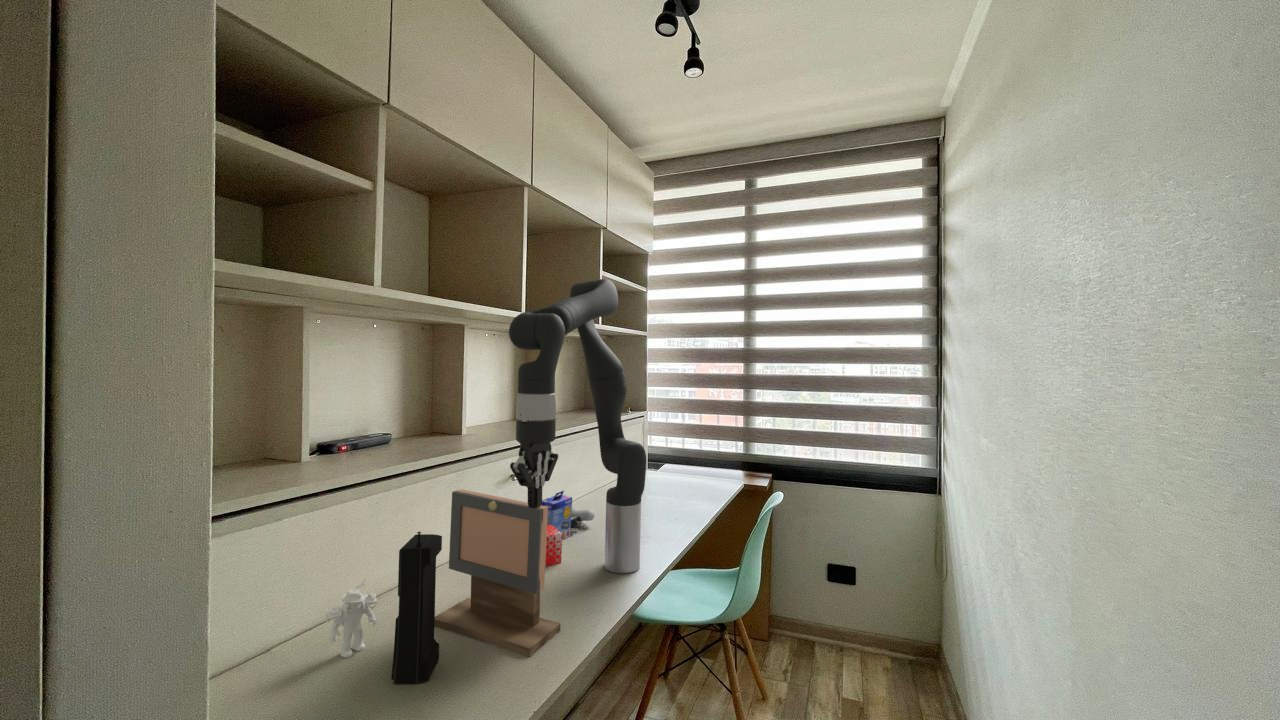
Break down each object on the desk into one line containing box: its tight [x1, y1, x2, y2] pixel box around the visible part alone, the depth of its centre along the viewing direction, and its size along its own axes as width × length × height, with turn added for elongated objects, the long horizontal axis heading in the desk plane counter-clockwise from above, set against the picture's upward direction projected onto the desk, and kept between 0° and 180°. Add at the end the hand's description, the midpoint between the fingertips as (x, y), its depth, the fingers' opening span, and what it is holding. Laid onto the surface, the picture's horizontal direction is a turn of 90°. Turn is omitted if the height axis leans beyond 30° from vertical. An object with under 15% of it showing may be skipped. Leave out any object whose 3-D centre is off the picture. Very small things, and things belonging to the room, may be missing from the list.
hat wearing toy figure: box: [324, 579, 378, 658], centre depth 94 cm, size 9×4×12 cm, turn 147°
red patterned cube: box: [545, 525, 563, 567], centre depth 138 cm, size 8×8×8 cm
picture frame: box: [448, 488, 548, 594], centre depth 103 cm, size 3×22×16 cm, turn 66°
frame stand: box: [434, 575, 561, 657], centre depth 103 cm, size 10×24×24 cm, turn 66°
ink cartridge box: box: [542, 490, 573, 541], centre depth 154 cm, size 10×6×14 cm, turn 151°
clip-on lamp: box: [571, 507, 596, 529], centre depth 167 cm, size 12×6×18 cm
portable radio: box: [390, 531, 443, 685], centre depth 89 cm, size 8×6×25 cm
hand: (534, 506), depth 99 cm, fingers closed
